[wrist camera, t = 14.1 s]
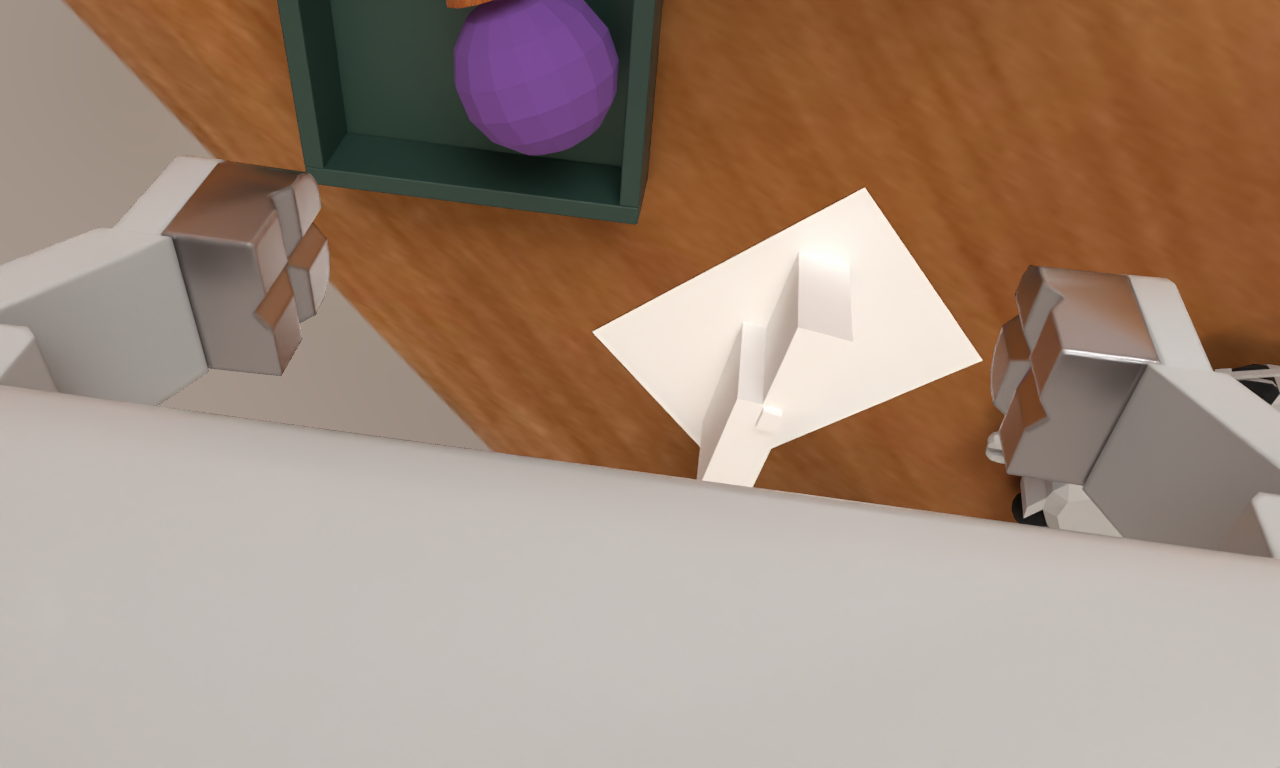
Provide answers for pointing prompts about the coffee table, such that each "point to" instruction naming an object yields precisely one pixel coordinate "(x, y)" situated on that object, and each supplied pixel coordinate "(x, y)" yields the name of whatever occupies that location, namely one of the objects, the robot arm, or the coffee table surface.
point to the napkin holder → (790, 337)
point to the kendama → (534, 72)
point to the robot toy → (1069, 501)
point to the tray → (456, 111)
